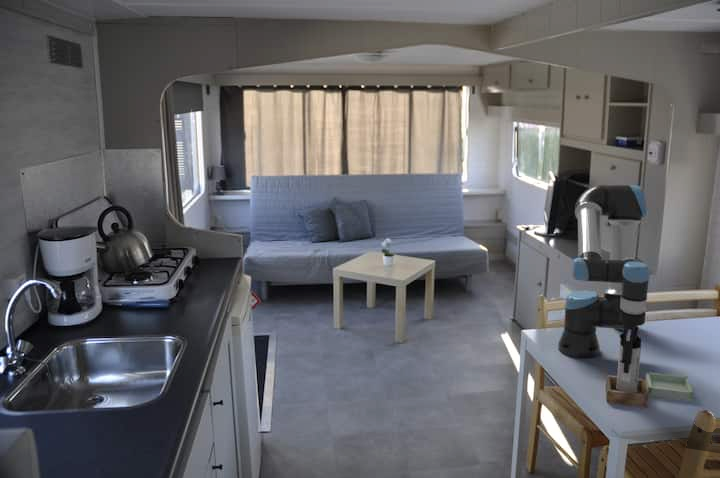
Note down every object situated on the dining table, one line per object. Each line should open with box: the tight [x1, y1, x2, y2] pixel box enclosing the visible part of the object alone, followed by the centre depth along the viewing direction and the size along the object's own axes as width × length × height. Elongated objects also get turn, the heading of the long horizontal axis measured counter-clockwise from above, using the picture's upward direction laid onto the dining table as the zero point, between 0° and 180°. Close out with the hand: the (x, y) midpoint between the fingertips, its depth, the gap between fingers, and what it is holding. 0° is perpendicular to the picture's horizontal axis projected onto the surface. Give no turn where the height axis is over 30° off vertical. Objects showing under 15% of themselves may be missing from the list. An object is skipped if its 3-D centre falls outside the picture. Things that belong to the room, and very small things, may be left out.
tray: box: [644, 371, 694, 402], centre depth 202 cm, size 13×12×3 cm
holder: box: [605, 374, 649, 408], centre depth 199 cm, size 12×12×4 cm
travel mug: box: [615, 332, 642, 393], centre depth 197 cm, size 6×7×20 cm
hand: (627, 376), depth 198 cm, fingers closed on travel mug, 6 cm apart
